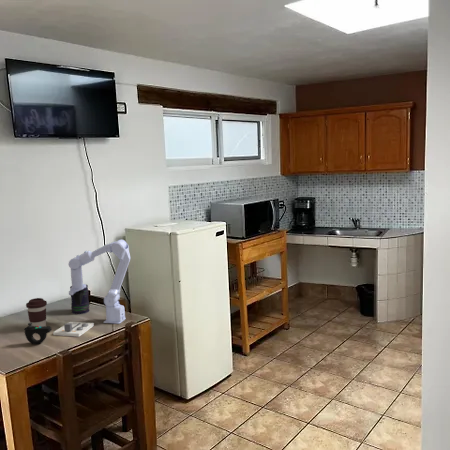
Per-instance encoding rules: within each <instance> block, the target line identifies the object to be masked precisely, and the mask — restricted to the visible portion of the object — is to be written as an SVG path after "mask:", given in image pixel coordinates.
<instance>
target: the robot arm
mask: <svg viewBox="0 0 450 450" xmlns="http://www.w3.org/2000/svg"><path fill="white" fill-rule="evenodd" d="M105 253H113V254H114V255H115V256H116V257H117V258H118V260H119V263H118V266H117V269H116V272H115V274H114V277H113V280H112V283H111V286H110V288H109V290H108V292H107V294H106V295H105V296H104V298H103V304H104V305H105V318H106V319H105V320H104V321H103V324H117V325H118V324H121V323H122V322H124V321H125V320H126V319H127V318H126V311H125V309H126V308H125V306H124V305H122V304H120V298H121V294H120V293H121V288H122V284H123V282H124V279H125V276H126V274H127V270H128V267H129V265H130V262H131V254H130V246H129V243H127V241H126V240H124V239H122V238H121V239H118V240H116V241H112V242H109V243H107V244H104V245H103V246H101V247H99V248H97V249H95V250H93V251H91V250H88V251H87V250H84V252H83V253H81V254H80V255H79V254H78V255H75V256H74V257H73V258H71V259H70V260H69V261H68V267H69V268H70V277H71V278H70V280H71V286H72V287H71V286H70V287H71V288H70V287H69V291H68V296H70V295H72V296H73V297H74V299H75V302H76V304H77V305H80V304H81V302H82V297H83V294H84V292H85V291H84V290H83V289H84V288H86V285H87V284H86V283H84V280H83V277H84V276H83V266H85V265H87V264H89V263H91V262H94V260H95V258H96V257H99V256H101V255H103V254H105ZM70 289H71V290H70Z"/></svg>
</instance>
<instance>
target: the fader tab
mask: <svg viewBox="0 0 450 450" xmlns="http://www.w3.org/2000/svg"><path fill="white" fill-rule="evenodd" d="M63 326H64V328H65V331H72V323H68V322H66V323H64V324H63Z"/></svg>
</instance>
